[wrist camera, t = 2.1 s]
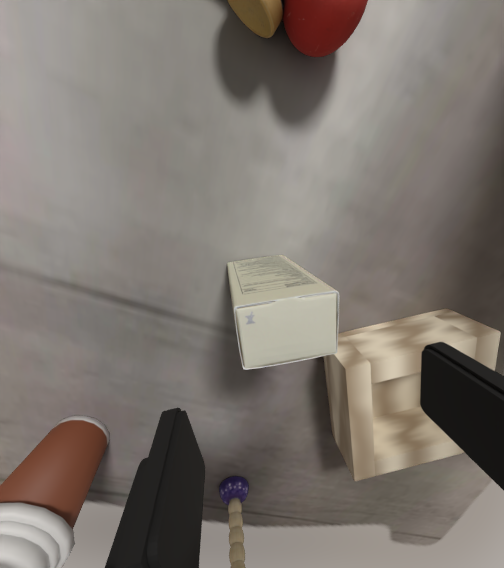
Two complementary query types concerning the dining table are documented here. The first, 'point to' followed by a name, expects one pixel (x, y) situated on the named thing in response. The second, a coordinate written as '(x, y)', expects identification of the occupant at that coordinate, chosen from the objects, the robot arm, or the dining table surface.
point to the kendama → (303, 21)
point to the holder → (395, 389)
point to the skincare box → (281, 312)
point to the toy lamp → (235, 516)
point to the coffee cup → (49, 494)
